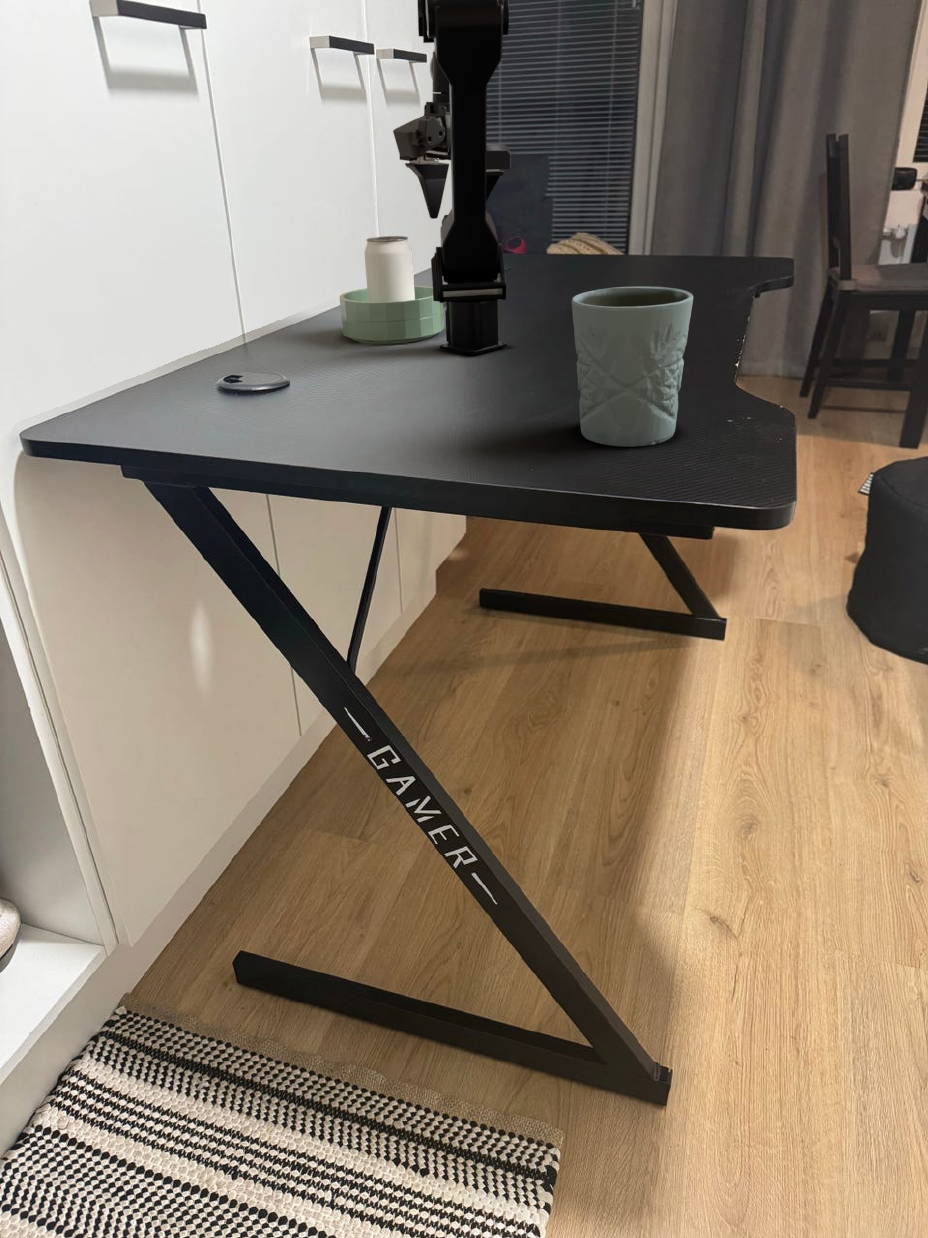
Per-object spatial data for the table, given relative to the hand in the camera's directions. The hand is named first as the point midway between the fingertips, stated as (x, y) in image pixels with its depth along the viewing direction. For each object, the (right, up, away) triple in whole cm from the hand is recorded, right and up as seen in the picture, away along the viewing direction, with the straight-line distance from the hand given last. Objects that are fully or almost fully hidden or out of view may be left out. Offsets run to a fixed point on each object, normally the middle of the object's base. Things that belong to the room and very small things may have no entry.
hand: (452, 222), depth 125 cm
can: (-8, -15, 0) cm, 17 cm away
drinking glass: (+16, -39, -43) cm, 61 cm away
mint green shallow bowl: (-8, -16, +1) cm, 18 cm away
